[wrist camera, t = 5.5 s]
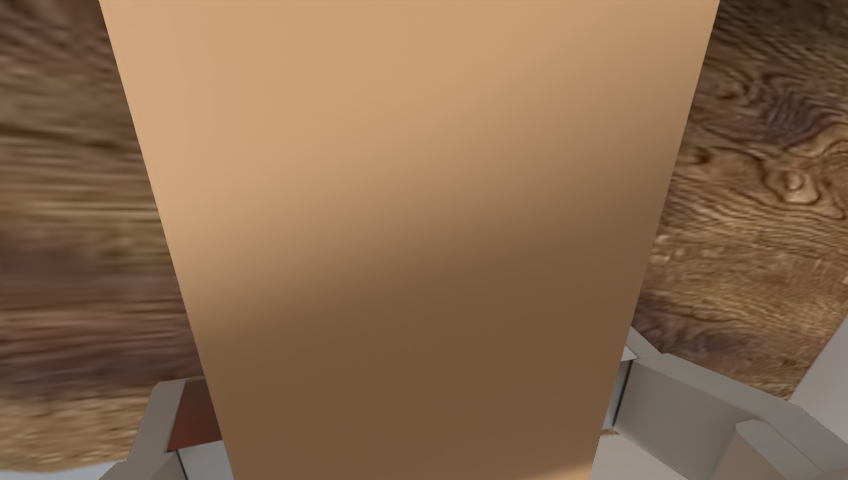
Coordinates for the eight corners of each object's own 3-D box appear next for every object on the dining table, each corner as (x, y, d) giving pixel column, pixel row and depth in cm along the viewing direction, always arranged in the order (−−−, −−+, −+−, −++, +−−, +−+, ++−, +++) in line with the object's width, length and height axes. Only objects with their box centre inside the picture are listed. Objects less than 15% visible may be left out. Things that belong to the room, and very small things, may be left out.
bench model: (221, -16, 10) (81, -66, 3) (469, -11, 12) (729, -36, 5) (294, 419, 17) (299, 709, 10) (449, 389, 18) (548, 624, 11)
